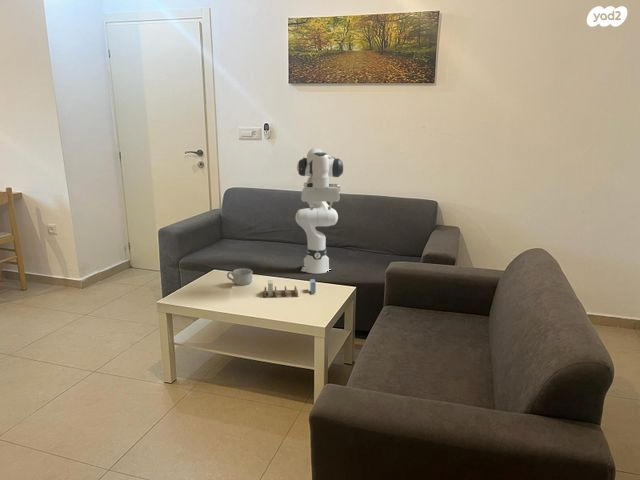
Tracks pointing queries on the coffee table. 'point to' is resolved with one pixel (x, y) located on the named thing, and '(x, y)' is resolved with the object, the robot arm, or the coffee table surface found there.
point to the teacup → (241, 276)
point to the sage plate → (270, 287)
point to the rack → (281, 293)
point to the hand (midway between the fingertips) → (320, 210)
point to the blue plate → (312, 286)
